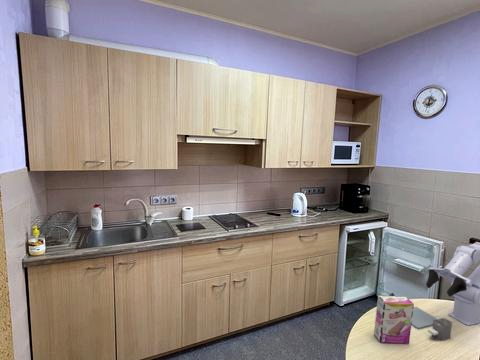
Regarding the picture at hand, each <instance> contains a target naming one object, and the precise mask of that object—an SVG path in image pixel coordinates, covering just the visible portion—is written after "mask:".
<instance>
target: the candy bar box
mask: <svg viewBox="0 0 480 360" xmlns="http://www.w3.org/2000/svg"><path fill="white" fill-rule="evenodd" d="M413 307H415V304H414V303H413V301H412V300H410V299H409V298H408V297H407V296H396V295H395V296H389V295H377V301H376V310H375V321H374V329H373V331H374V332H373V335H374V337H375V338H376V339H377V341H378V342H379V343H381V344H404V345H409V344H410V340H411V339H410V338H411V332H412V331H411V330H412V325H411V323H412V315H413Z"/></svg>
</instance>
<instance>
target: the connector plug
mask: <svg viewBox="0 0 480 360" xmlns="http://www.w3.org/2000/svg"><path fill="white" fill-rule="evenodd" d="M452 326H453V322H452V321H451V320H450V319H447V318H443V317H441V318H437V320H433V326H431V328H429V329H428V330H427V332H428V333H430V334H431V338H433V339H434V340H436V341H439V342H443V341H446V340H450V339H451V334H452Z"/></svg>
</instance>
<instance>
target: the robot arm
mask: <svg viewBox="0 0 480 360" xmlns="http://www.w3.org/2000/svg"><path fill="white" fill-rule="evenodd" d="M479 261H480V242H478V241H475V242H474V243H472V244H469V245H466V246H465V245H459V246H457V247H456V249H455V252H454V253H453V257H452V259H450V261H449V262H448V263H447V264H446V266H444V267H443V268H440V267H439V268H438V267H432V266H430V267H429V269H428V278H427V281H426V283H425V285H426V287H427V288H428V289H431V288H432V287H433V285H435V284H436V283H437V282H439V281H441V279H440V277H442V278H443V279H445V280H448V281H449V282H451V284H450V287H449V288H448V289H447V290H446V293H447V295H448V297H452V296H453V297H454V302H453V310H452V312H449V313H447V315H448V316H449V317H451V318H453V319H455V320H457V321H458V322H461V323H462V324H464V325H466V326H473V325H475V324H480V264H479V265H478V266H477V267H476V268H475V269H474V270H473V272H472V273H471V274H469V275H468V277H464V276H463V275H465V273H466V271H467V270H468V269H469V268H470V267H471V266H472V264H477V263H479ZM439 276H440V277H439Z"/></svg>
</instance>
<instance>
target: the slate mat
mask: <svg viewBox="0 0 480 360" xmlns="http://www.w3.org/2000/svg"><path fill="white" fill-rule="evenodd" d="M437 319H438V318H437V317H435V316H433V315H431V314H429V313H428V312H427V311H424V309H421V308H419V307H418V306H414V307H413V315H412V323H411V327H414V328H415V329H416V330H417V331H418V330H421V329H425V328H426V329H427V328H429V327H433V320H437Z"/></svg>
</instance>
